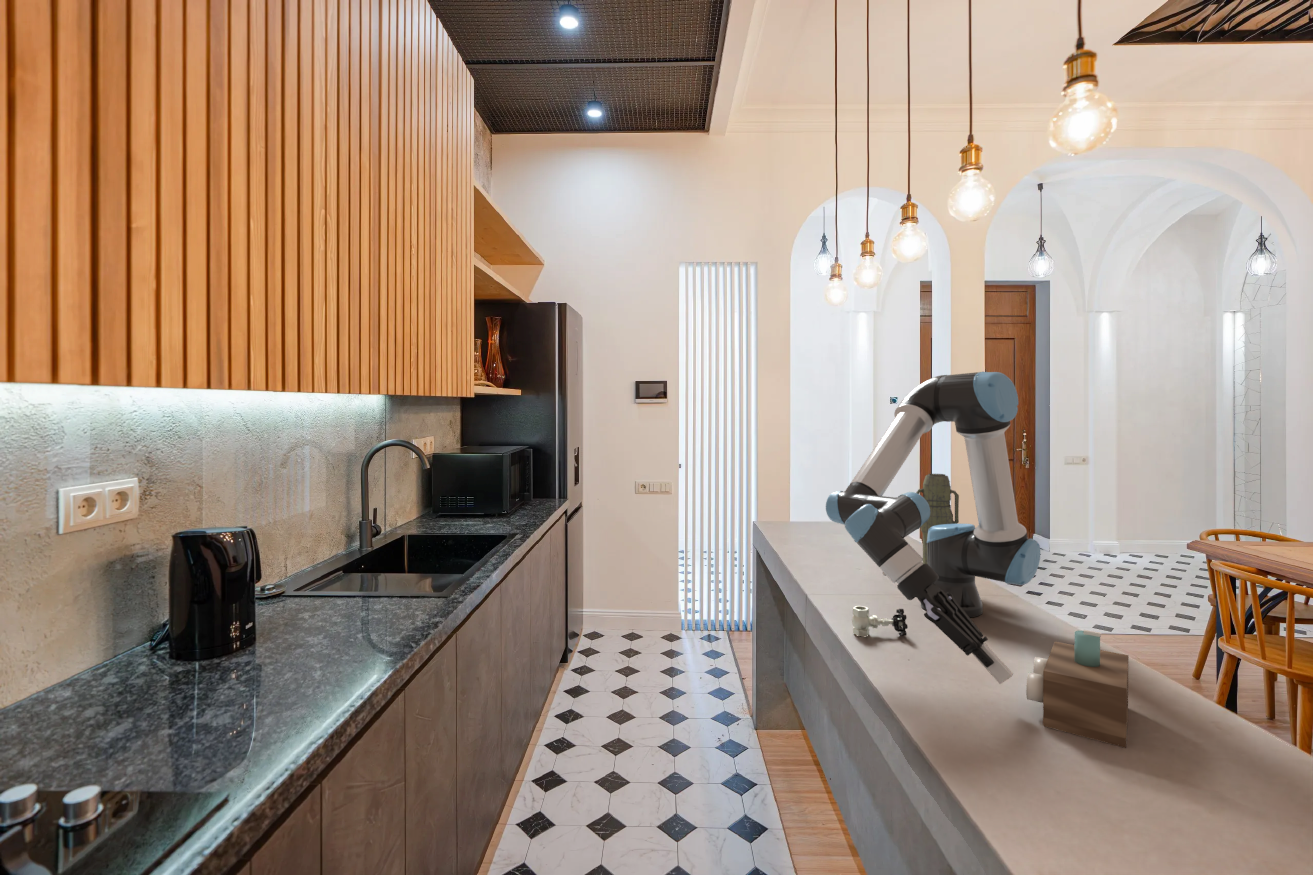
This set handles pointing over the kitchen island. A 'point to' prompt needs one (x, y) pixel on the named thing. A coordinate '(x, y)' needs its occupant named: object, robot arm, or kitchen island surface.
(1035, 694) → the knob
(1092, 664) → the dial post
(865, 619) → the valve
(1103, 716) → the mount
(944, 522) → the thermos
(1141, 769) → the kitchen island surface
